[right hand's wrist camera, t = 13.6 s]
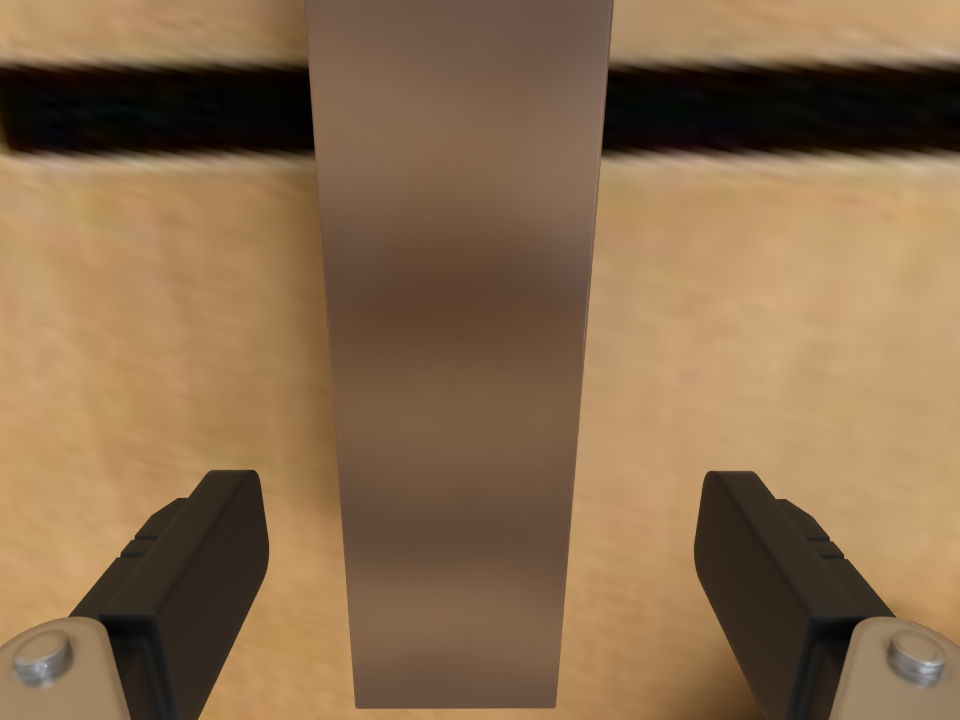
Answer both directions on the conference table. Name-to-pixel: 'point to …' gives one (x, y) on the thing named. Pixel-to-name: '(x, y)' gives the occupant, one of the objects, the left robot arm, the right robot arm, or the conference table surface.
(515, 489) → the post
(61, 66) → the conference table surface
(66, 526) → the conference table surface
